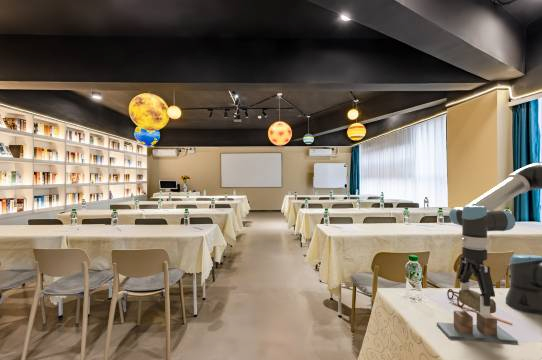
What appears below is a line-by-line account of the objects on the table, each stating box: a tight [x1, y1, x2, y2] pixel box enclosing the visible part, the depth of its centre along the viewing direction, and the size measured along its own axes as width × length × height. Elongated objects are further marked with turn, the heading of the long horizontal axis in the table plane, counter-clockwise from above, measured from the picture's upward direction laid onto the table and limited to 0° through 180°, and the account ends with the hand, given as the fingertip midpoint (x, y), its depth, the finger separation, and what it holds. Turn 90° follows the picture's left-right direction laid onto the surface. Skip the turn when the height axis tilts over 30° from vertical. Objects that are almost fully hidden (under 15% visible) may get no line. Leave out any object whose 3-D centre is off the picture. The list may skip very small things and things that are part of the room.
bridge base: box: [436, 310, 519, 344], centre depth 104 cm, size 22×10×7 cm, turn 83°
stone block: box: [457, 289, 497, 314], centre depth 105 cm, size 6×12×5 cm, turn 9°
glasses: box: [446, 288, 465, 308], centre depth 132 cm, size 13×13×5 cm
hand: (474, 306), depth 104 cm, fingers closed on stone block, 12 cm apart
